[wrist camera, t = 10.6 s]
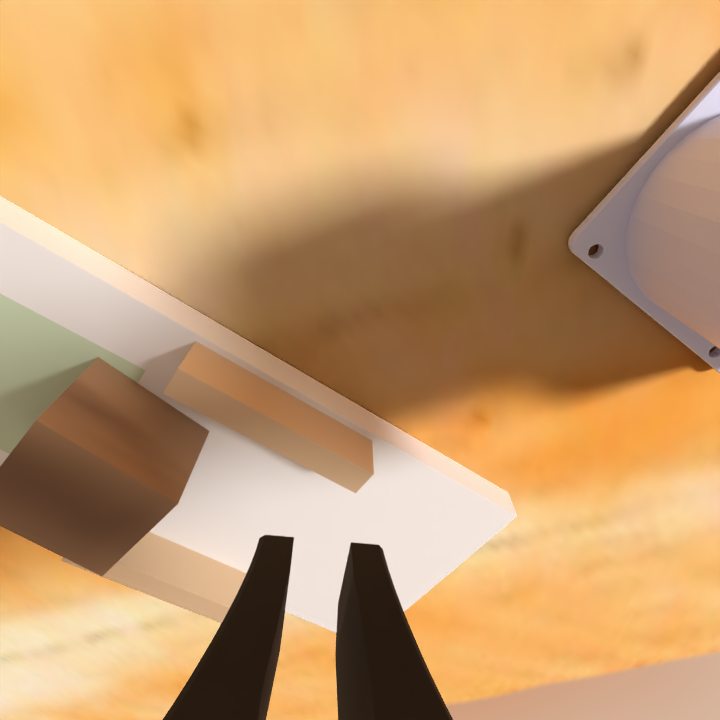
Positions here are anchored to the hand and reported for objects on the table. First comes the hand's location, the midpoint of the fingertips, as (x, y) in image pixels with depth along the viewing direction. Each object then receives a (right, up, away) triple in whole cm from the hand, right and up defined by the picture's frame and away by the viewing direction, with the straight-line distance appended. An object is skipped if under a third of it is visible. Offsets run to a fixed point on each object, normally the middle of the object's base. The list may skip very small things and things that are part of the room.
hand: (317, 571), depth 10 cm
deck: (-8, +2, +11) cm, 14 cm away
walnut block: (-9, +2, +9) cm, 13 cm away
